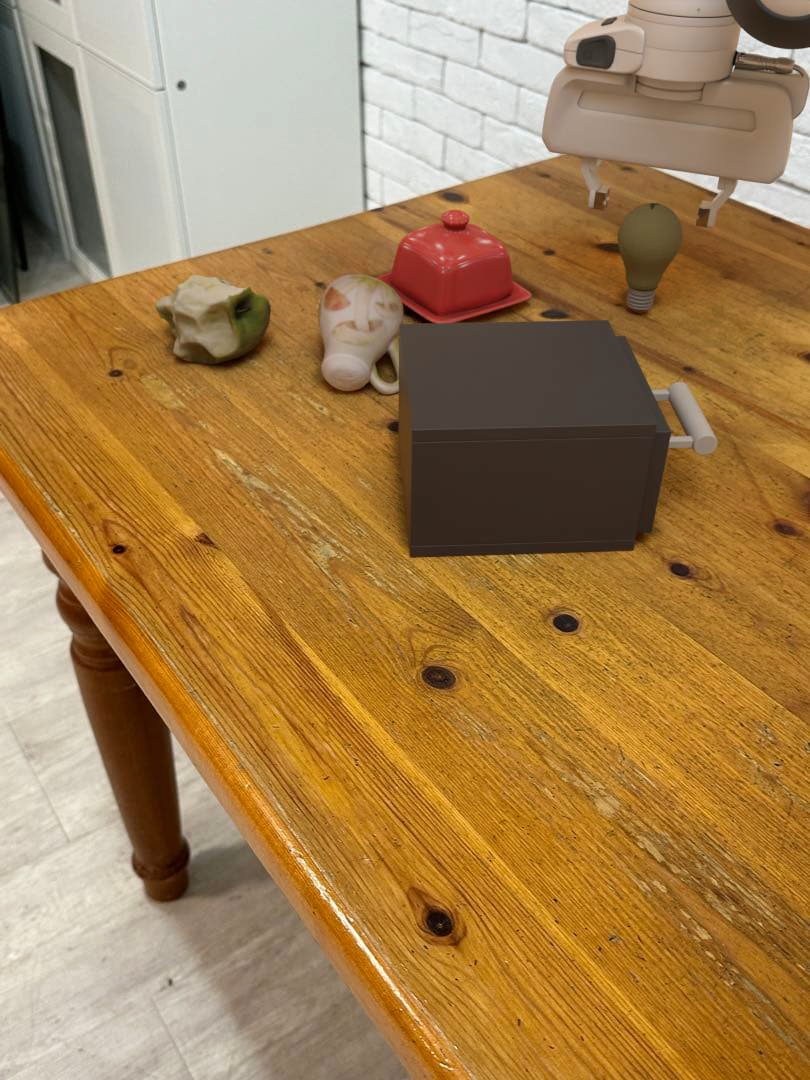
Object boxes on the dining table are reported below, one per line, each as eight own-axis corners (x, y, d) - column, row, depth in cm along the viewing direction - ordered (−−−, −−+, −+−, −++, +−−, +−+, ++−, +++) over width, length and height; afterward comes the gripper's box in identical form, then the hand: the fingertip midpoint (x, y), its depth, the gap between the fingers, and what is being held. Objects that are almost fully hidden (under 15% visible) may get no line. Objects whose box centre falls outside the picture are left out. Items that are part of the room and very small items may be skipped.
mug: (300, 403, 84) (285, 276, 82) (344, 398, 93) (331, 283, 91) (389, 394, 81) (374, 263, 80) (424, 389, 90) (412, 271, 89)
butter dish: (538, 308, 97) (547, 218, 92) (437, 340, 92) (440, 247, 87) (464, 265, 104) (468, 180, 99) (366, 292, 99) (365, 204, 94)
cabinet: (591, 437, 80) (608, 319, 74) (633, 550, 69) (657, 423, 63) (398, 441, 79) (399, 323, 73) (410, 557, 68) (412, 429, 62)
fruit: (286, 375, 89) (276, 298, 83) (178, 398, 88) (159, 322, 81) (263, 310, 95) (252, 234, 89) (161, 331, 93) (142, 255, 87)
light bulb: (607, 295, 99) (621, 191, 93) (666, 299, 99) (685, 195, 92) (607, 322, 95) (623, 214, 89) (670, 326, 94) (690, 218, 88)
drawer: (666, 429, 79) (685, 334, 74) (715, 531, 69) (740, 429, 64) (430, 434, 78) (433, 339, 73) (446, 539, 68) (450, 436, 63)
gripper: (820, 51, 82) (777, 223, 90) (566, 23, 88) (549, 187, 96) (812, 70, 77) (768, 249, 86) (545, 40, 83) (529, 210, 92)
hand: (650, 216), depth 91 cm, fingers open, 8 cm apart
